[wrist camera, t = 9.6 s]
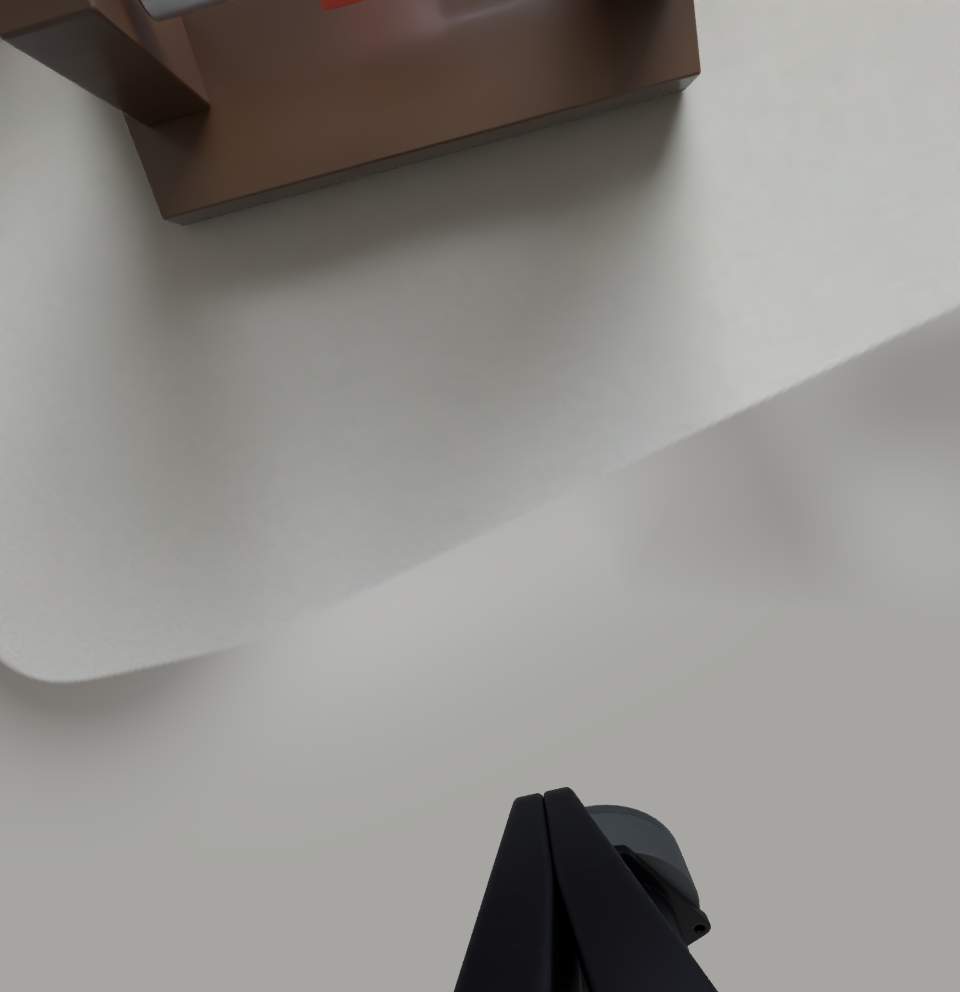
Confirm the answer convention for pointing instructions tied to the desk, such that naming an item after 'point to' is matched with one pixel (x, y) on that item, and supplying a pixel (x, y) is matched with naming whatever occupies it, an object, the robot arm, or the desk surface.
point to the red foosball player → (207, 6)
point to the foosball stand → (345, 81)
